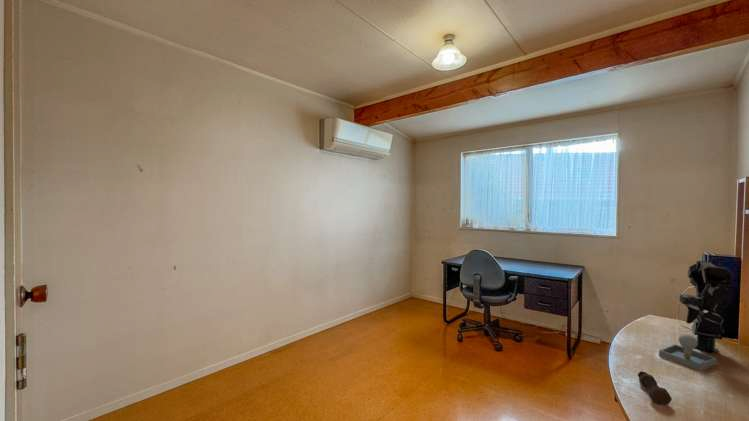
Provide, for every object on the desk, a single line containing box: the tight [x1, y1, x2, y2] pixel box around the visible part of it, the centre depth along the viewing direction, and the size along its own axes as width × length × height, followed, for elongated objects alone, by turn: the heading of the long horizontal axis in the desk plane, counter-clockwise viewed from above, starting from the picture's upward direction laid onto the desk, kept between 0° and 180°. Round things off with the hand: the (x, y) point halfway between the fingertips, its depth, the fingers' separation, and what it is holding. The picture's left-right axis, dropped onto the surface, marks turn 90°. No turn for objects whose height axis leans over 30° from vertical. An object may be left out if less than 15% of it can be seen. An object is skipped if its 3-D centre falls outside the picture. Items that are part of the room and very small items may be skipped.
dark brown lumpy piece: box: [637, 370, 673, 406], centre depth 111 cm, size 6×5×15 cm
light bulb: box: [678, 333, 697, 359], centre depth 132 cm, size 5×6×10 cm
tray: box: [658, 343, 717, 372], centre depth 132 cm, size 13×13×2 cm
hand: (692, 327), depth 137 cm, fingers open, 9 cm apart
